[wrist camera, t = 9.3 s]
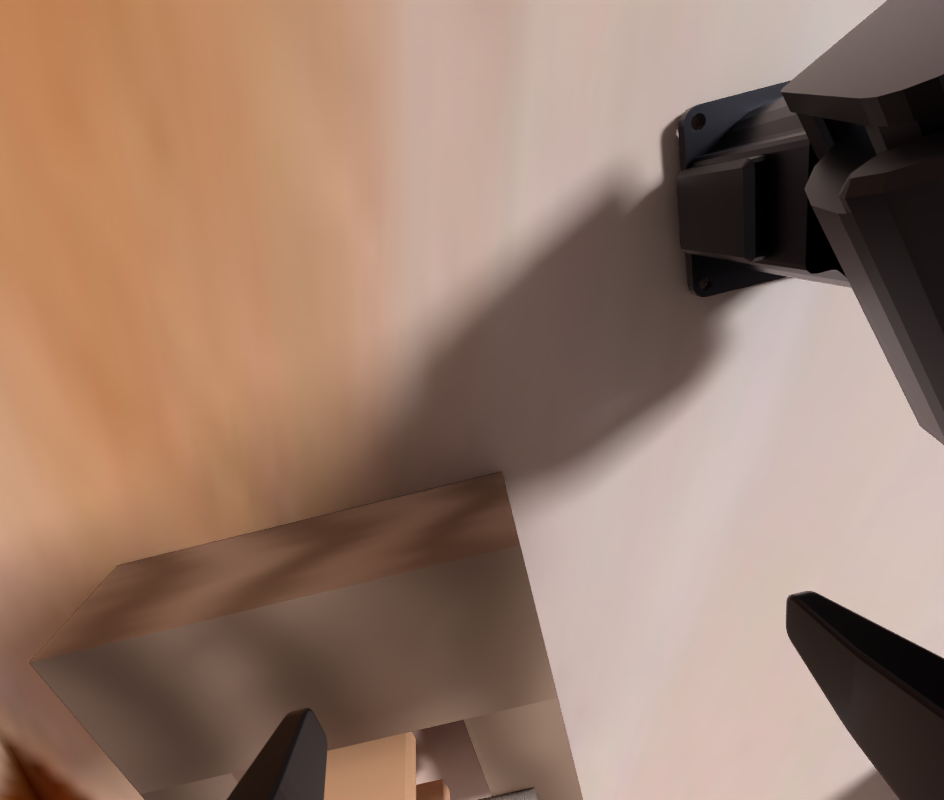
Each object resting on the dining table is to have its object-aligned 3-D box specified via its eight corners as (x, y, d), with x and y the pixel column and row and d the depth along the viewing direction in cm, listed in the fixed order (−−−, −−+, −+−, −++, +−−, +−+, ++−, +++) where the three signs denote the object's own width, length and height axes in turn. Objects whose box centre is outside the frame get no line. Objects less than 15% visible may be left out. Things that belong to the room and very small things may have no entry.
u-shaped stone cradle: (501, 471, 21) (520, 545, 16) (570, 750, 28) (596, 855, 24) (117, 565, 21) (29, 662, 17) (284, 815, 29) (255, 930, 24)
